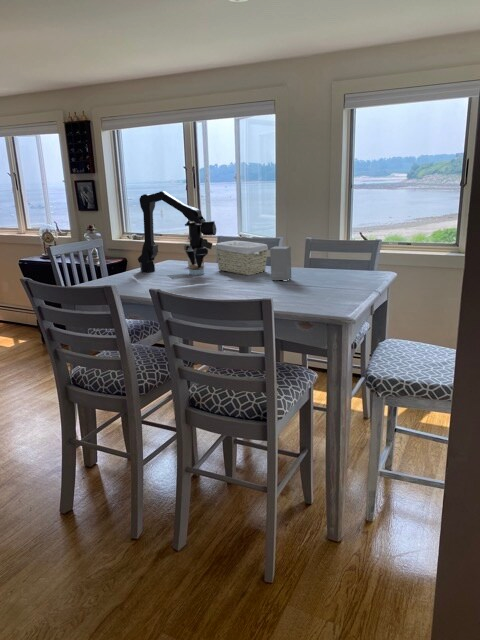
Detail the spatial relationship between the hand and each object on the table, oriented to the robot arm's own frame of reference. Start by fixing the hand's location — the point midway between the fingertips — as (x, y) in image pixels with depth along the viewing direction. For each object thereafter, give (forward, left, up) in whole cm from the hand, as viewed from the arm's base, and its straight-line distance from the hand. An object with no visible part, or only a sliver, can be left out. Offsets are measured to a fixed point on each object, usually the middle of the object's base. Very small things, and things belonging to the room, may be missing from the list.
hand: (196, 266), depth 237 cm
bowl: (0, 0, -5) cm, 5 cm away
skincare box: (+31, -31, -5) cm, 44 cm away
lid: (0, 0, -1) cm, 1 cm away
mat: (-10, -3, -4) cm, 11 cm away
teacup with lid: (+9, +23, -5) cm, 25 cm away
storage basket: (+25, -1, -5) cm, 25 cm away
